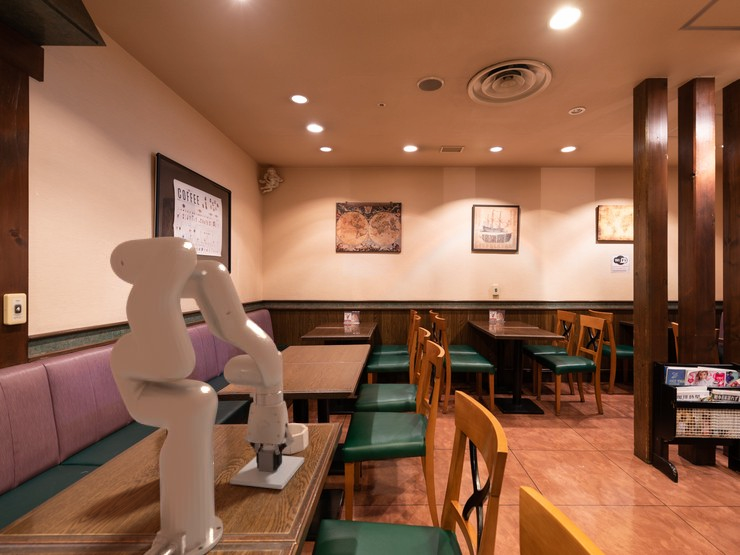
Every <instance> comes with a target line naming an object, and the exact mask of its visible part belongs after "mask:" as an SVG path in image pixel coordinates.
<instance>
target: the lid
mask: <svg viewBox="0 0 740 555" xmlns="http://www.w3.org/2000/svg"><path fill="white" fill-rule="evenodd" d="M274 454H275V449H274V446H273V445H272V444H265V445H264V446H263V448H262V449H261V450H260V451H259V468H257V463H256V456H255V457H253V458H252V459H251V460H250V461H249V462H248V463H247V464H245V465H244V466H243V468H241V469H240V470H239V471H238V472H237V473H236V474H234V476H232V477H231V478H230V479H229V480H230V484H231V485H240V486H249V487H257V488H268V489H276V490H283V489H284V488H285V486H286V485H287V484H288V482H289V481H290V480H291V479H292V477H293V476H294V475H296V474H295V473H297V471H298V470H299V469H300V467H301V466H302V465H303V463H304V462H305V457H302V456H291V455H289V456H288V455H282V464H281V465H280V466H279V468H278V469H277V470H274V460H273V456H274Z"/></svg>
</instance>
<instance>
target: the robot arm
mask: <svg viewBox="0 0 740 555" xmlns="http://www.w3.org/2000/svg"><path fill="white" fill-rule="evenodd" d="M109 263H110V268H111V269H112V271H113V273H114V274H115V275H116V276H117V277H118V279H120V280H122V281H123V282H125V283H127V284H130V285H132V287H131V289H130V290H129V293H128V296H127V300H126V306H125V311H126V312H125V313H126V319H127V323H128V326H129V329H130V332H128V333H125V334H123V335H122V336H121V337H120V338H118V340H116V342H115V344H114V345H113V347H112V349H111V351H110V355H109V366H110V370H111V374H112V376H113V379H114V381H115V384H116V387H117V389H118V391H119V394H120V397H121V398H122V401H123V403H124V406H125V407H126V410H127V412H128V414H129V415H130V417H131V418H132V419H133V420H135V421H136V422H137V423H139V424H142V425H145V426H150V427H155V428H161V429H165V430H166V429H167V430H168V434H167V437H165V440H164V441H163V444H162V446H161V449H160V452H159V458H158V459H159V460H158V461H159V463H158V464H159V468H158V469H159V502H160V504H159V506H160V508H159V510H160V512H159V513H160V514H159V515H160V530H159V531H157V532H156V536H155V538H154V539H153V541H152V543H151V548H150V549H148V550H147V551H146V552H145V553H144V554H143V555H205V554H207V553H208V552H210V550H212V549H213V548H214V547H215V546H216V545H217V544H218V543H219V542H220V540H221V538H222V536H223V533H224V523H223V521H222V519H221V518H220V517H218V516H216V515H215V514H216V513H215V468H214V466H215V464H214V462H215V461H214V460H215V459H214V432H215V423H216V417H217V413H218V406H219V398H218V394H217V392H216V389H214V388H213V386H211V385H210V384H209V383H207V382H204V381H202V380H196V379H189V378H187V377H189V376H190V375H191V374H192V372H193V371H194V369H195V366H196V362H197V361H196V353H195V349H194V346H193V343H192V340H191V337H190V333H189V331H188V328H187V325H186V322H185V319H184V316H183V311H182V306H181V299H194V301H195V303H196V305H197V307H198V309H199V312H200V313H201V315H202V317H203V320H204V321H205V323H206V326H207V328H208V330H209V332H210V333H211V335H213V336H214V337H217V338H218V339H220V340H222V341H224V342H226V343H228V344H230V345H232V346H235V347H237V348H238V349H240V350H241V351H243V352H244V353H246V354H239V355H236V356H233V357H231V358H230V359H229V360H228V361H227V362H226V364H224V365H225V366H224V368H223V377H224V379H225V380H226V382H228V383H229V384H231V385H233V386H237V387H244V388H245V387H246V388H253V392H252V391H250V393H249V398H253V402H251V403H250V406H249V411H248V412H249V413H248V420H247V430H246V432H247V433H246V435H245V436H244V440H245V441H246V442H247V443H249V445H250V447H251V448H252V449H253V452H254V453H256V455H255V457H256V463H257V468H259V451H260V450H261V449H262V448H263V447H265V445H273V444H274V449H275V454H274V456H273V460H274V470H277V469H278V468H279V466H280V465H281V464H282V456H283V454H282V451H283V450H284V448H285V447H287V446H289V445H290V444H292V443H293V442H294V439H293V437H292V435H291V433H290V432H289V414H288V408H287V402H286V400H284V369H283V367H284V366H283V365H284V360H283V353H282V352H281V351H280V350H278V348H277V345H276V343H274V341H273V338H271V337H270V336H269V334H267V332H266V331H265V330H263V329H262V328H261V327H260V326H259V325H258V324H257V323H256V322H254V320H252V319H251V318H249V317H248V315H247V314H246V312H245V309H244V306H243V303H242V300H241V299H240V297H239V294H238V292H237V289H236V287H235V284H234V281H233V279H232V277H231V274H230V272H229V270H228V268H227V267H226V266H225V265H224V263H222V262H220V261H217V260H213V259H198V255H197V251H196V248H195V246H194V244H193V243H192V242H191V241H189V240H187V239H186V238H182V237H178V236H158V237H157V236H156V237H150V238H149V237H148V238H139V239H138V238H137V239H129V240H126V241H123V242H121V243H119V244H117V245H116V246H115V247H114V249H113V250H112V251H111V254H110V257H109ZM284 438H286V441H285V442H284V443H283V441H284ZM264 444H265V445H264Z"/></svg>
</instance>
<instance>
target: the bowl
mask: <svg viewBox="0 0 740 555" xmlns="http://www.w3.org/2000/svg"><path fill="white" fill-rule="evenodd" d="M289 432H290V433H291V435H292V437H293V439H294V442H293V443H292V444H290V445H289V446H287V447H285V448H284V450H283V451H282V455H293V454H297V453H300V452H303V451H305V449H306V448H307V447H308V446H309V427H308V426H306V425H305V424H304V423H296V422H292V423H289ZM285 441H286V438H284V441H283V443H284V442H285ZM272 446H274V444H272Z"/></svg>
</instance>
